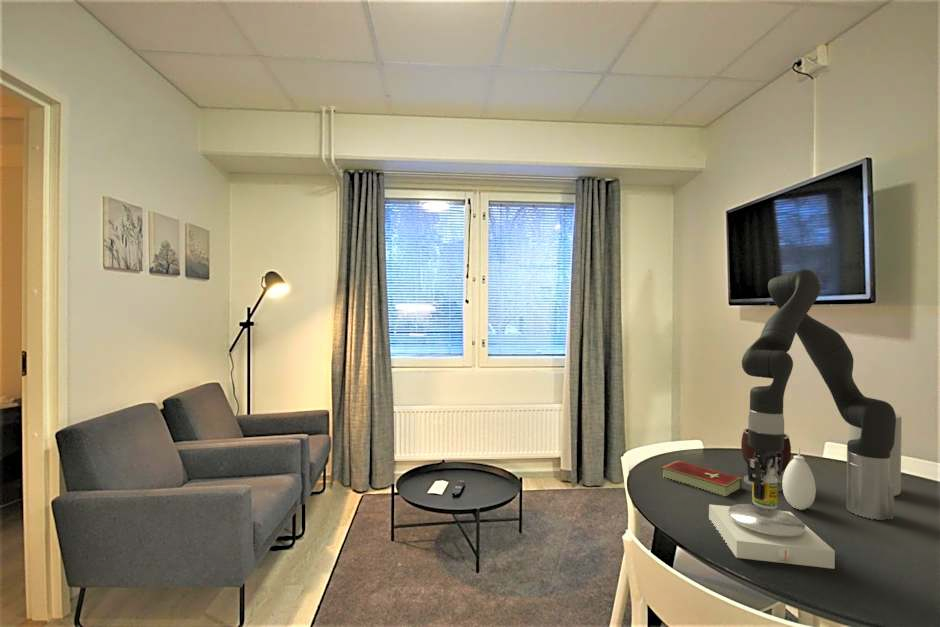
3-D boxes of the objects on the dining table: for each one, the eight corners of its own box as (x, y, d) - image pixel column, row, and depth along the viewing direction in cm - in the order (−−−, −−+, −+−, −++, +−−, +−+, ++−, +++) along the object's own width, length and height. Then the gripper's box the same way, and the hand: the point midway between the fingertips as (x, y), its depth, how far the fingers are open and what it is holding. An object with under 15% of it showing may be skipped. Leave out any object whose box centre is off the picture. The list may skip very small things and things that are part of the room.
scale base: (789, 526, 119) (790, 511, 119) (836, 570, 99) (836, 552, 99) (708, 518, 123) (709, 504, 123) (737, 559, 103) (737, 541, 103)
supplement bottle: (758, 498, 115) (758, 461, 115) (781, 506, 111) (782, 468, 111) (748, 503, 112) (748, 465, 112) (771, 511, 108) (772, 472, 108)
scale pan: (785, 510, 117) (785, 507, 117) (819, 540, 102) (819, 537, 102) (719, 504, 121) (719, 501, 121) (742, 532, 105) (742, 529, 105)
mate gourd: (797, 494, 140) (798, 431, 140) (747, 488, 145) (747, 427, 145) (780, 477, 155) (781, 420, 155) (735, 472, 159) (736, 417, 159)
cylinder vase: (898, 500, 136) (899, 419, 136) (845, 488, 146) (846, 412, 145) (902, 490, 144) (903, 413, 144) (852, 479, 154) (853, 407, 154)
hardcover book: (678, 471, 161) (678, 459, 161) (741, 489, 145) (741, 476, 145) (661, 478, 154) (661, 466, 154) (726, 498, 138) (726, 485, 138)
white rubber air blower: (787, 512, 128) (787, 449, 128) (778, 501, 135) (779, 442, 135) (819, 516, 125) (820, 453, 125) (809, 505, 132) (810, 445, 132)
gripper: (763, 422, 118) (762, 485, 118) (735, 429, 111) (734, 496, 111) (795, 428, 112) (794, 495, 112) (768, 436, 104) (767, 508, 104)
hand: (764, 495), depth 111 cm, fingers closed on supplement bottle, 5 cm apart
